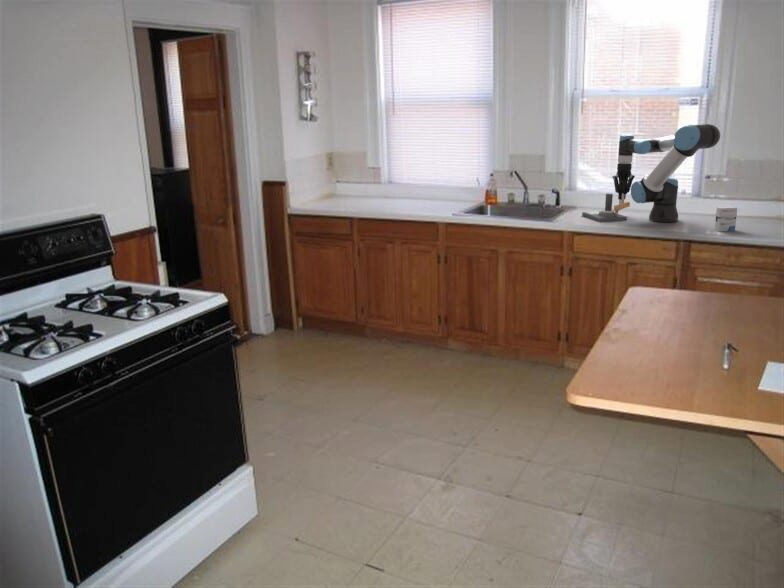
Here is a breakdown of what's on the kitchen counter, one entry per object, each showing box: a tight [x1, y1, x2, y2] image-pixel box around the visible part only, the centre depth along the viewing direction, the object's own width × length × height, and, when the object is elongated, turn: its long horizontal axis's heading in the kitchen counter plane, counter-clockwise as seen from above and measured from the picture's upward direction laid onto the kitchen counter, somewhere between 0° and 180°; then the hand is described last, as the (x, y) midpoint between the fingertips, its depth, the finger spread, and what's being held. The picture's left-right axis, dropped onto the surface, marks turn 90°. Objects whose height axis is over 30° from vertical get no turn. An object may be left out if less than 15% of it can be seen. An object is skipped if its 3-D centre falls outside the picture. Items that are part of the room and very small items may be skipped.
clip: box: [613, 201, 631, 212], centre depth 394 cm, size 17×3×3 cm, turn 141°
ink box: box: [714, 206, 738, 232], centre depth 358 cm, size 8×5×12 cm, turn 92°
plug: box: [602, 193, 615, 214], centre depth 391 cm, size 6×6×12 cm
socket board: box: [581, 210, 627, 223], centre depth 397 cm, size 20×16×5 cm
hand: (621, 205), depth 399 cm, fingers closed
